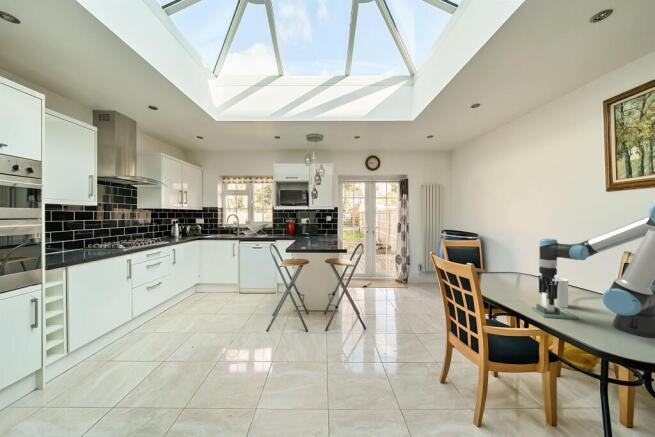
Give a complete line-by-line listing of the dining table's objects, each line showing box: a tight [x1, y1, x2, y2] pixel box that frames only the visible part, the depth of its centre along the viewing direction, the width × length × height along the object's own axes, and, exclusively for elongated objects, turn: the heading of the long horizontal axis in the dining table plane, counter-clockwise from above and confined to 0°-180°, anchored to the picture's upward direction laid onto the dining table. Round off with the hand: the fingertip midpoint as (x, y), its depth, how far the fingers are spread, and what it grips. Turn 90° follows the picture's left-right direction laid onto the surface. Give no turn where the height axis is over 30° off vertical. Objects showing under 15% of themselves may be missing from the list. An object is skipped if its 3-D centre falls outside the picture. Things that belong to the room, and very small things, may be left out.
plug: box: [541, 290, 556, 312], centre depth 144 cm, size 4×4×12 cm
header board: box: [531, 303, 580, 320], centre depth 144 cm, size 12×16×4 cm
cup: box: [554, 276, 569, 309], centre depth 157 cm, size 8×8×16 cm
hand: (547, 308), depth 145 cm, fingers closed on plug, 4 cm apart
